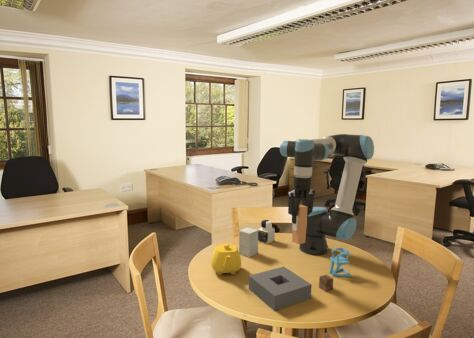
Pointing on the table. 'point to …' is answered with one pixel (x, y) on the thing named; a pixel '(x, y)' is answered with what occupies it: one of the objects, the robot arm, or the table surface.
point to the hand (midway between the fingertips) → (299, 229)
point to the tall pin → (300, 226)
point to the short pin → (326, 283)
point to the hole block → (279, 287)
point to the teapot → (226, 259)
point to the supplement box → (248, 242)
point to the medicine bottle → (266, 232)
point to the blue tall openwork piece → (339, 262)
